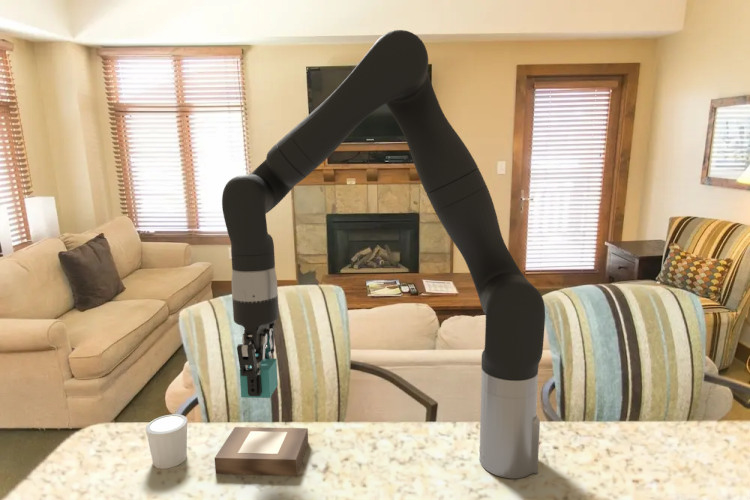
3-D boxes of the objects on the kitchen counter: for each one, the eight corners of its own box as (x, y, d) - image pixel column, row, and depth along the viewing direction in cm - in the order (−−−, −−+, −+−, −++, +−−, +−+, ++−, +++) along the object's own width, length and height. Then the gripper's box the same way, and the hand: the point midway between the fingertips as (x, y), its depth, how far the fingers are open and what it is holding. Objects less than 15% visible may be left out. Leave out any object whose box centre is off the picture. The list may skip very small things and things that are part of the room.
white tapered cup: (175, 472, 83) (172, 435, 82) (140, 468, 84) (136, 431, 83) (198, 450, 89) (195, 415, 88) (165, 446, 91) (161, 412, 90)
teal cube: (277, 385, 87) (276, 358, 86) (270, 397, 82) (268, 370, 81) (250, 384, 87) (249, 358, 86) (241, 397, 82) (239, 369, 81)
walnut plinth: (308, 442, 91) (307, 428, 91) (296, 475, 81) (295, 459, 81) (235, 441, 92) (234, 426, 92) (215, 473, 82) (214, 457, 82)
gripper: (264, 305, 74) (269, 408, 77) (287, 284, 89) (290, 371, 91) (217, 305, 75) (224, 407, 78) (247, 284, 89) (251, 370, 92)
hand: (260, 387), depth 84 cm, fingers closed on teal cube, 5 cm apart
